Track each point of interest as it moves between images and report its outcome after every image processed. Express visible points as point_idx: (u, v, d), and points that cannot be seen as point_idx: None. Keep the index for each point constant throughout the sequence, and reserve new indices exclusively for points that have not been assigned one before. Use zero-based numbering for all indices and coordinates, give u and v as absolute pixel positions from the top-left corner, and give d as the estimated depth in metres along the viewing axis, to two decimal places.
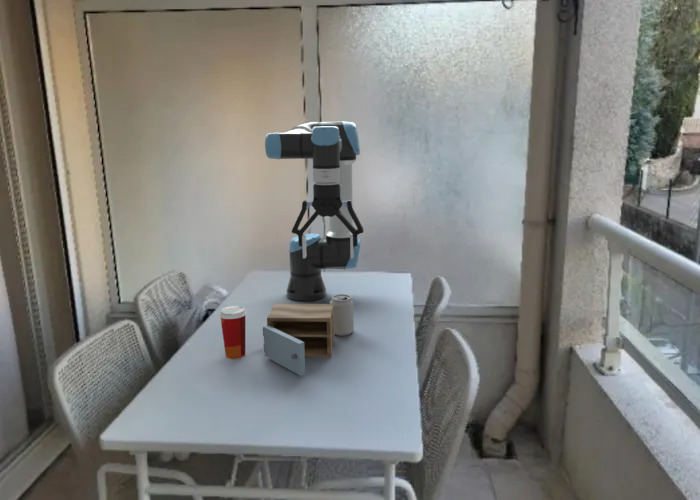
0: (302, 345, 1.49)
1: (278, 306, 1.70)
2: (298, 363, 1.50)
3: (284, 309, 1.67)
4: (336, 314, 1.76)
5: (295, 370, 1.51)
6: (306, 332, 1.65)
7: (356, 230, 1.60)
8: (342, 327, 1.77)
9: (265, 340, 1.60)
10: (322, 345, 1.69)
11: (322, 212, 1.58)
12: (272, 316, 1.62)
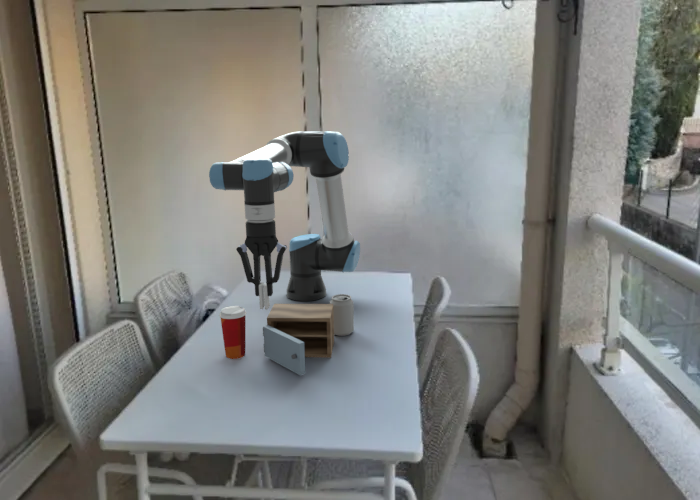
0: (302, 345, 1.49)
1: (278, 306, 1.70)
2: (298, 363, 1.50)
3: (284, 309, 1.67)
4: (336, 314, 1.76)
5: (295, 370, 1.51)
6: (306, 332, 1.65)
7: (270, 279, 1.48)
8: (342, 327, 1.77)
9: (265, 340, 1.60)
10: (322, 345, 1.69)
11: None
12: (272, 316, 1.62)
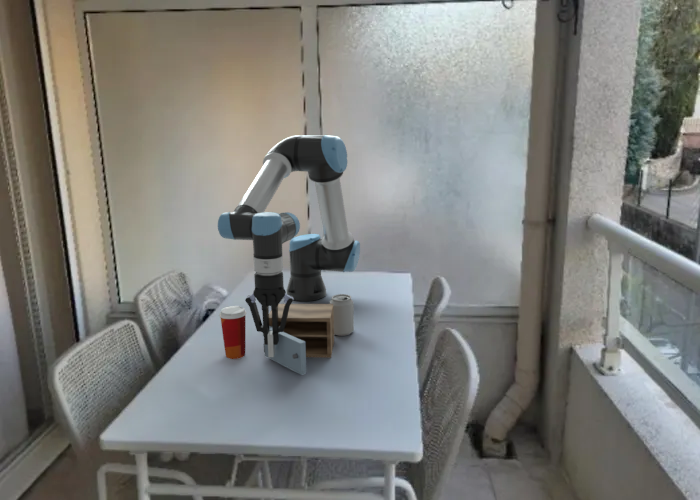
0: (303, 345, 1.49)
1: (278, 306, 1.70)
2: (299, 363, 1.50)
3: None
4: (336, 314, 1.76)
5: (296, 370, 1.52)
6: (306, 332, 1.65)
7: None
8: (342, 327, 1.77)
9: None
10: (322, 345, 1.69)
11: None
12: None
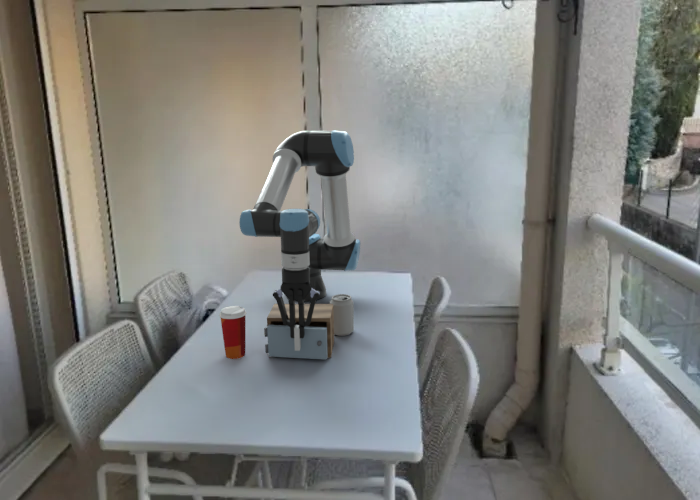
0: (326, 330, 1.58)
1: None
2: (323, 348, 1.59)
3: None
4: (336, 314, 1.76)
5: (318, 356, 1.60)
6: None
7: None
8: (342, 327, 1.77)
9: (270, 340, 1.61)
10: None
11: None
12: (272, 316, 1.62)
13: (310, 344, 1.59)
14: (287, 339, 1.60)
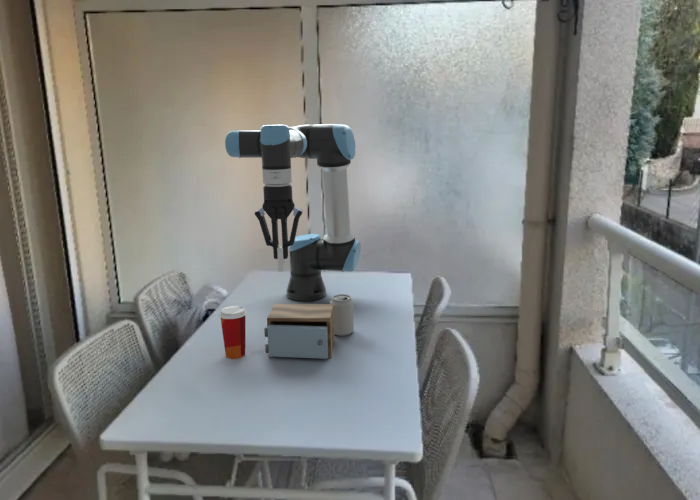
0: (326, 329, 1.59)
1: (278, 306, 1.70)
2: (324, 347, 1.59)
3: (284, 309, 1.67)
4: (336, 314, 1.76)
5: (319, 356, 1.60)
6: None
7: None
8: (342, 327, 1.77)
9: (270, 340, 1.61)
10: None
11: None
12: (272, 316, 1.62)
13: (311, 343, 1.59)
14: (287, 339, 1.60)
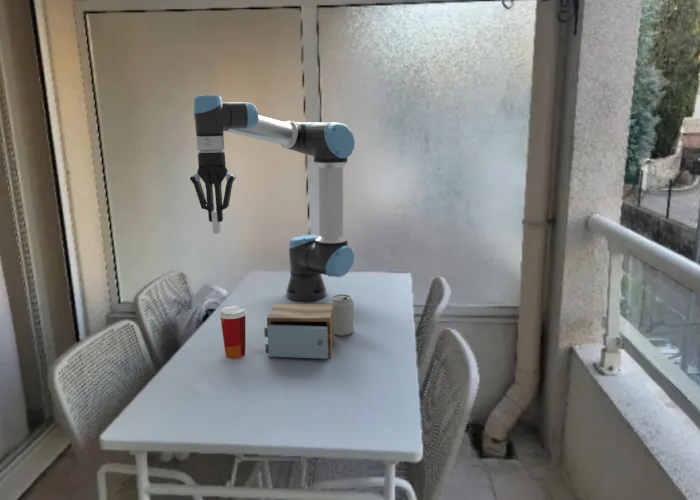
0: (326, 329, 1.59)
1: (278, 306, 1.70)
2: (324, 347, 1.59)
3: (284, 309, 1.67)
4: (336, 314, 1.76)
5: (319, 356, 1.60)
6: None
7: None
8: (342, 327, 1.77)
9: (270, 340, 1.61)
10: None
11: None
12: (272, 316, 1.62)
13: (311, 343, 1.59)
14: (287, 339, 1.60)
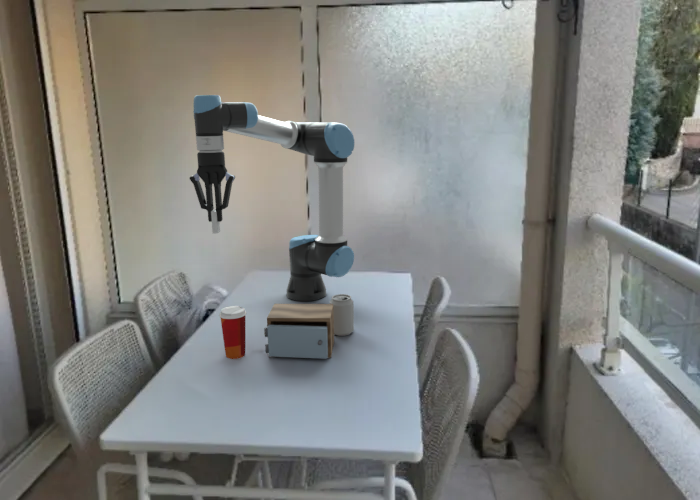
0: (326, 329, 1.59)
1: (278, 306, 1.70)
2: (324, 347, 1.59)
3: (284, 309, 1.67)
4: (336, 314, 1.76)
5: (319, 356, 1.60)
6: None
7: (219, 206, 1.64)
8: (342, 327, 1.77)
9: (270, 340, 1.61)
10: None
11: None
12: (272, 316, 1.62)
13: (311, 343, 1.59)
14: (287, 339, 1.60)
